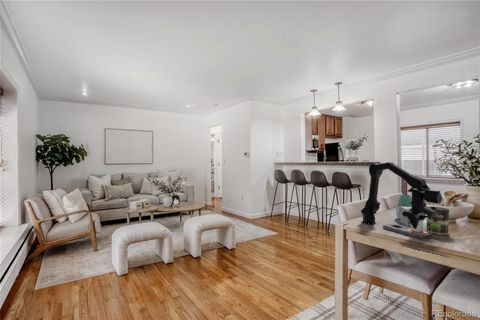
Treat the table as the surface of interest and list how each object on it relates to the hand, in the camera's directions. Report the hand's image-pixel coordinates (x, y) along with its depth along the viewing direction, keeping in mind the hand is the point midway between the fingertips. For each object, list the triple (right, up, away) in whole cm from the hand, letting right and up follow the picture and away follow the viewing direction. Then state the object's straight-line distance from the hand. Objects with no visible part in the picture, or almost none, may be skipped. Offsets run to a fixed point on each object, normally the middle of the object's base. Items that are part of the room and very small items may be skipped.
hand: (417, 228), depth 137 cm
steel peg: (0, -3, 0) cm, 3 cm away
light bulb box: (+11, -4, +23) cm, 26 cm away
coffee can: (+17, -4, +7) cm, 19 cm away
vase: (+17, -4, +34) cm, 38 cm away
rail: (-2, -4, +5) cm, 7 cm away
